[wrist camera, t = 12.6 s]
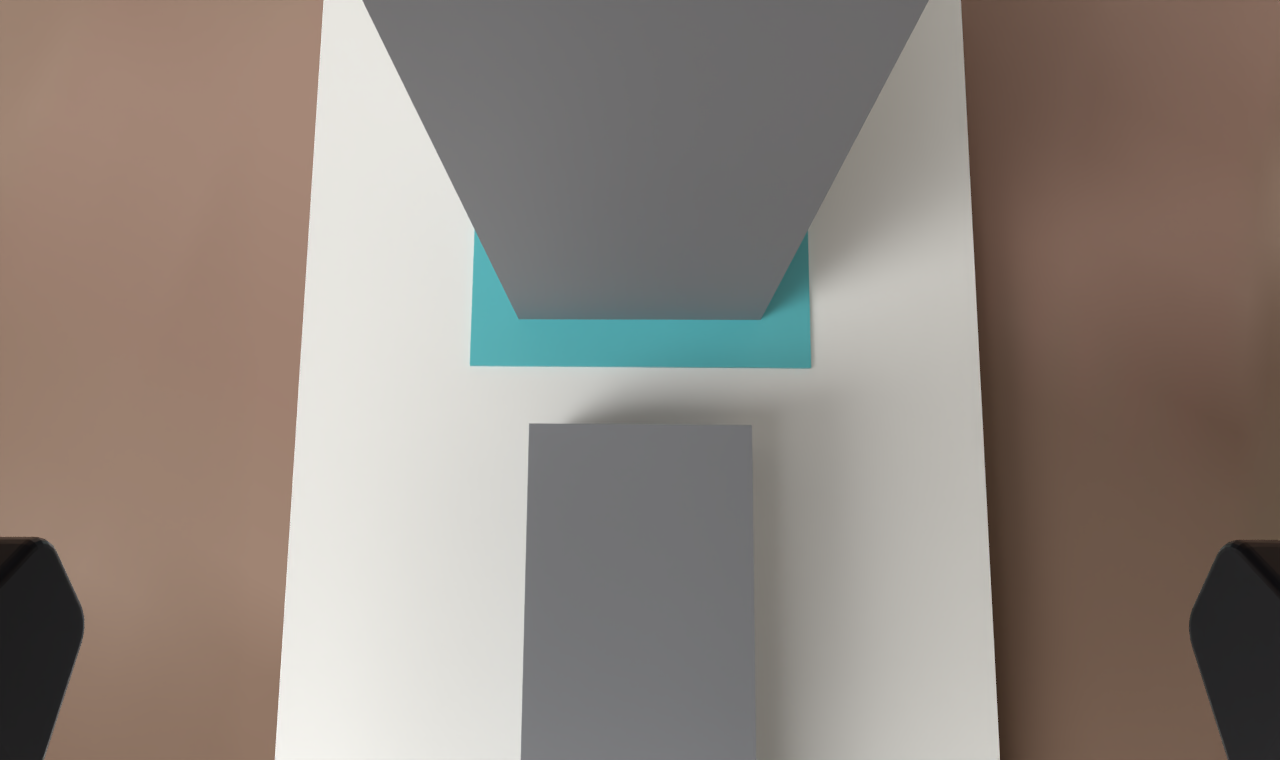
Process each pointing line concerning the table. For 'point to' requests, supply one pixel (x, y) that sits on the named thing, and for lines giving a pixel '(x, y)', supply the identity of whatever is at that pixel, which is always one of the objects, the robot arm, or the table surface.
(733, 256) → the pillar
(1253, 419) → the table surface
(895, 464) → the baseplate
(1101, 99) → the table surface
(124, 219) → the table surface
